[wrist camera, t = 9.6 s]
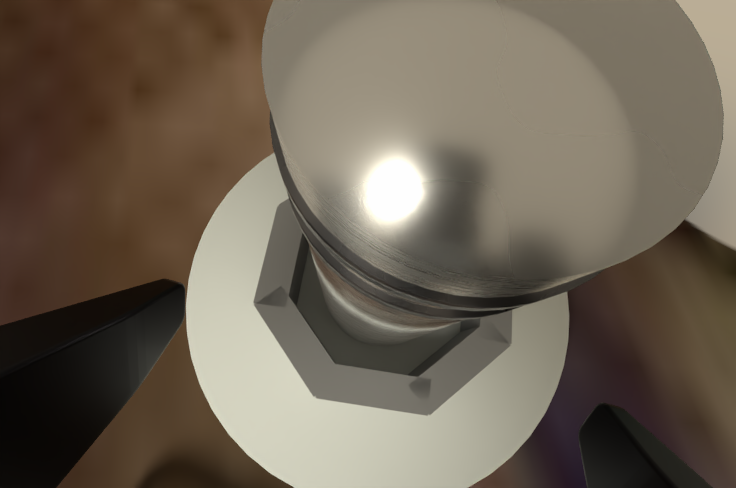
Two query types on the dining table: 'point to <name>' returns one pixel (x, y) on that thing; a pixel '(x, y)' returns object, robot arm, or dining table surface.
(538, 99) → the piston
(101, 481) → the dining table surface
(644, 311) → the dining table surface
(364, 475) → the white and grey disc
